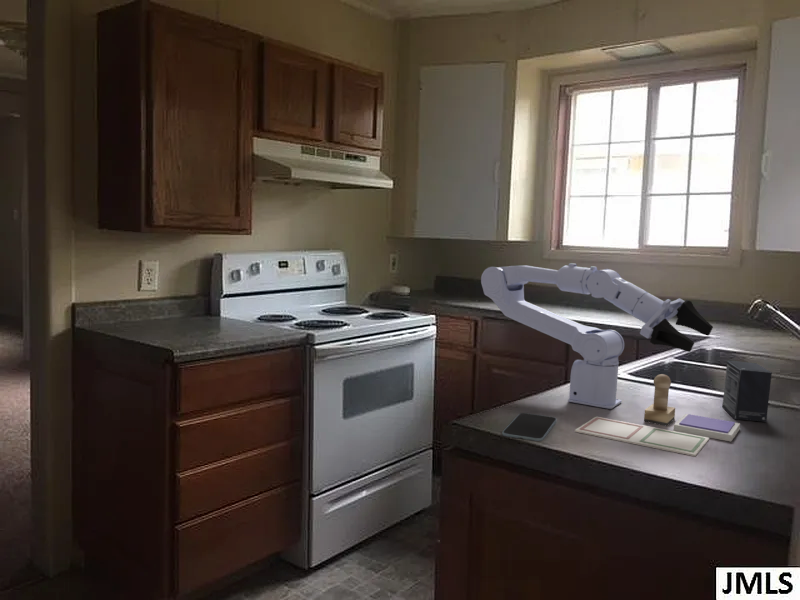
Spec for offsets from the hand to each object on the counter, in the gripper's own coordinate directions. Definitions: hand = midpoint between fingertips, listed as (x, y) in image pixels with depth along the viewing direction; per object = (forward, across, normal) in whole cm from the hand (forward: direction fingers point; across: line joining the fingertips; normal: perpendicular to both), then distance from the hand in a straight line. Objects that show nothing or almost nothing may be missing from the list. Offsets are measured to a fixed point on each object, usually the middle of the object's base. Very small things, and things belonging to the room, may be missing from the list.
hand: (701, 339), depth 135 cm
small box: (+12, +9, +18) cm, 23 cm away
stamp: (+2, -10, +15) cm, 18 cm away
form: (+3, -22, +10) cm, 24 cm away
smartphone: (-12, -34, +12) cm, 39 cm away
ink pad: (+10, -9, +12) cm, 17 cm away
